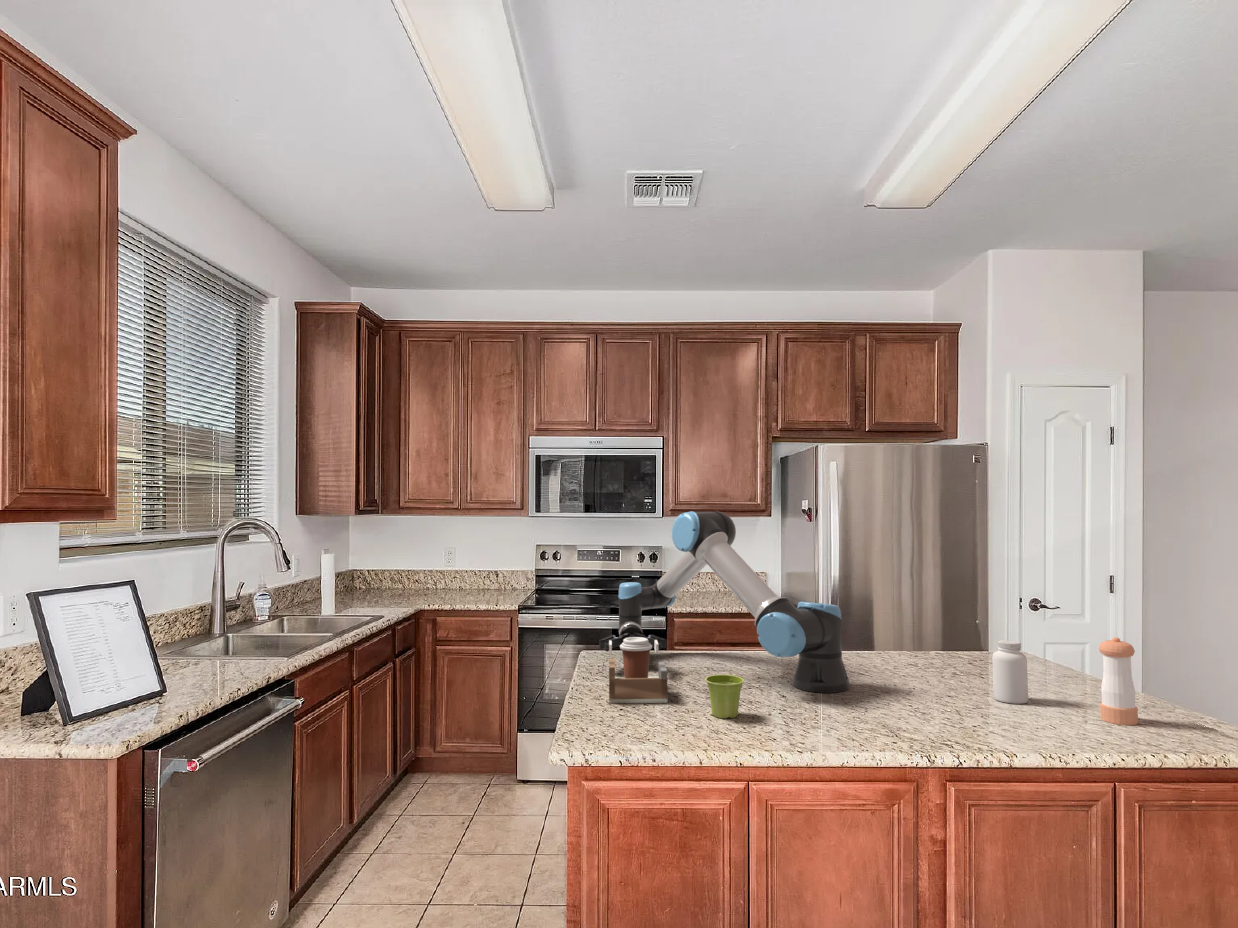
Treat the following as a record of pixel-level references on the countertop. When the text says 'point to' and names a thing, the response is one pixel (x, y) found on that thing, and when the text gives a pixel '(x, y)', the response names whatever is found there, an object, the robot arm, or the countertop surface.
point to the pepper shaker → (1118, 683)
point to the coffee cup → (636, 657)
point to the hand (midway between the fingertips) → (633, 649)
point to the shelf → (637, 687)
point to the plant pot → (724, 694)
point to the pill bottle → (1010, 673)
